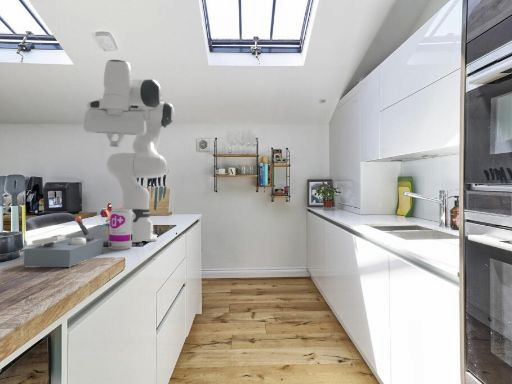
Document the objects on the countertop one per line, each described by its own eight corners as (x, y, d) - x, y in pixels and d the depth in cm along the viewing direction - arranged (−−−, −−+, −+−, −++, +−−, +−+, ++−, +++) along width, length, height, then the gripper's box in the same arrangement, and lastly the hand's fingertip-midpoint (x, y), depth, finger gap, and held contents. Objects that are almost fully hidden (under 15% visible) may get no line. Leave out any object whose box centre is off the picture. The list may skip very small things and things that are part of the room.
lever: (85, 235, 104) (75, 217, 104) (91, 232, 104) (81, 215, 104) (82, 236, 102) (72, 218, 102) (88, 233, 102) (78, 215, 102)
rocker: (41, 242, 93) (40, 238, 93) (65, 238, 93) (64, 234, 93) (32, 244, 89) (31, 240, 89) (57, 239, 89) (57, 235, 89)
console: (66, 252, 108) (67, 235, 108) (102, 253, 108) (103, 236, 108) (23, 267, 86) (24, 245, 86) (69, 268, 86) (70, 246, 87)
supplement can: (123, 250, 115) (125, 209, 115) (103, 249, 116) (105, 208, 117) (136, 247, 123) (137, 209, 123) (117, 245, 124) (119, 208, 125)
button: (75, 248, 99) (75, 237, 99) (88, 249, 99) (88, 237, 99) (68, 251, 95) (68, 238, 95) (81, 251, 95) (82, 239, 95)
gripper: (149, 111, 112) (148, 149, 112) (90, 107, 111) (89, 146, 111) (144, 105, 106) (142, 146, 106) (82, 102, 104) (80, 143, 104)
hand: (114, 146), depth 108 cm, fingers closed
